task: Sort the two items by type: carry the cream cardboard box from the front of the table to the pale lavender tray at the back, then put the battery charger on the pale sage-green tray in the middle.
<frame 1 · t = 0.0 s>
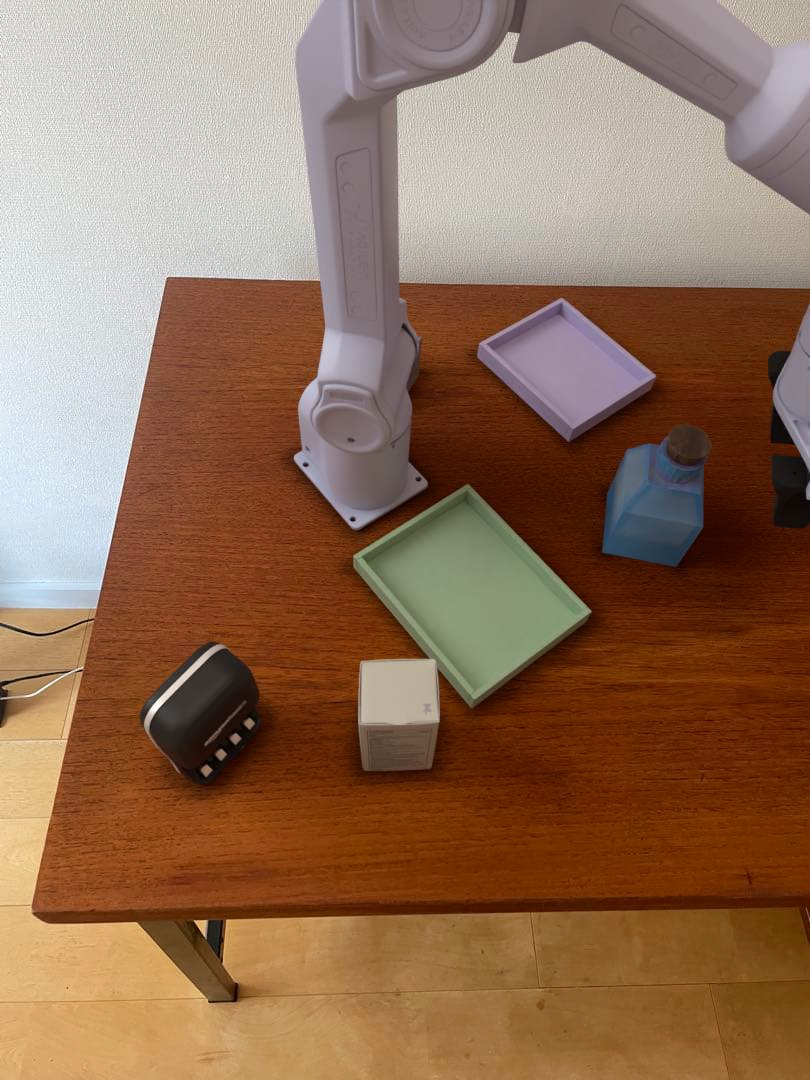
hand: (786, 480, 58), 11 cm above the table, tool pointing down, fingers open, 7 cm apart
cream cardboard box: (395, 741, 58), on the table
perfume bottle: (640, 530, 69), on the table
lavender tray: (563, 373, 77), on the table
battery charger: (224, 747, 57), on the table
dice cube: (383, 385, 76), on the table
sage tray: (468, 594, 64), on the table
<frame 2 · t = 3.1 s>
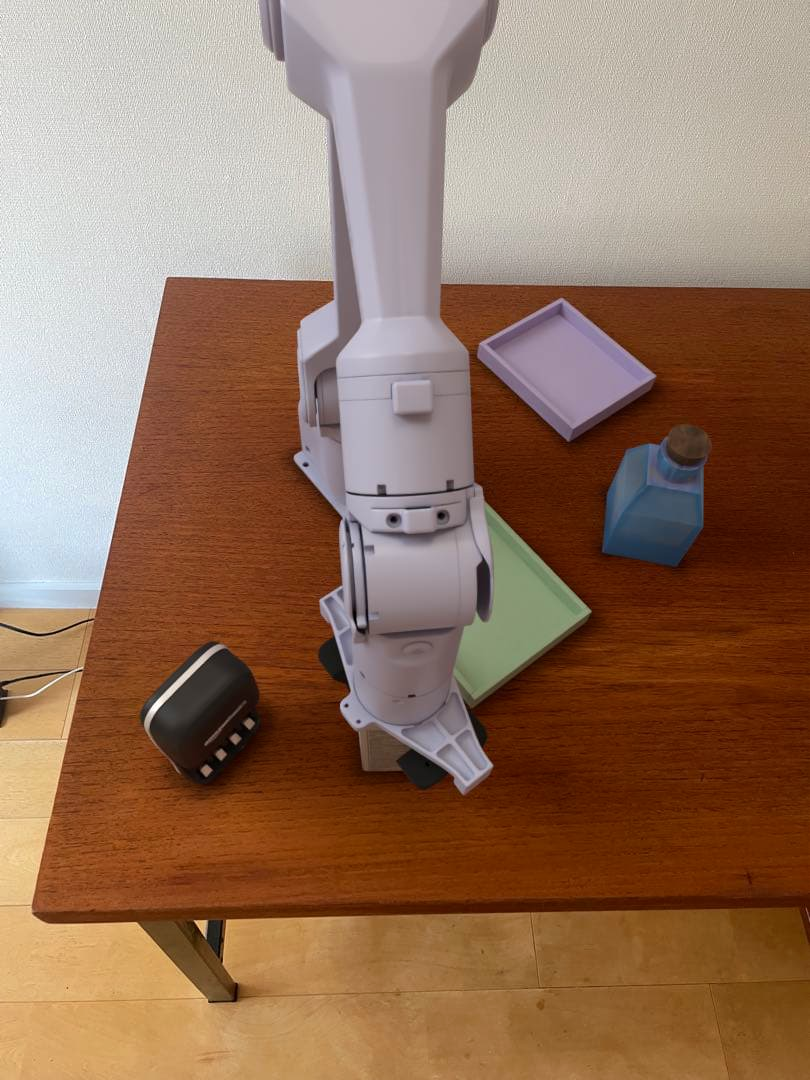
hand: (396, 728, 55), 3 cm above the table, tool pointing down, fingers closed on cream cardboard box, 6 cm apart
cream cardboard box: (395, 741, 58), on the table, touching gripper
everything else where it was.
when the fingers open (3 cm above the table, at t = 9.6 s): cream cardboard box stays where it is, resting on lavender tray.
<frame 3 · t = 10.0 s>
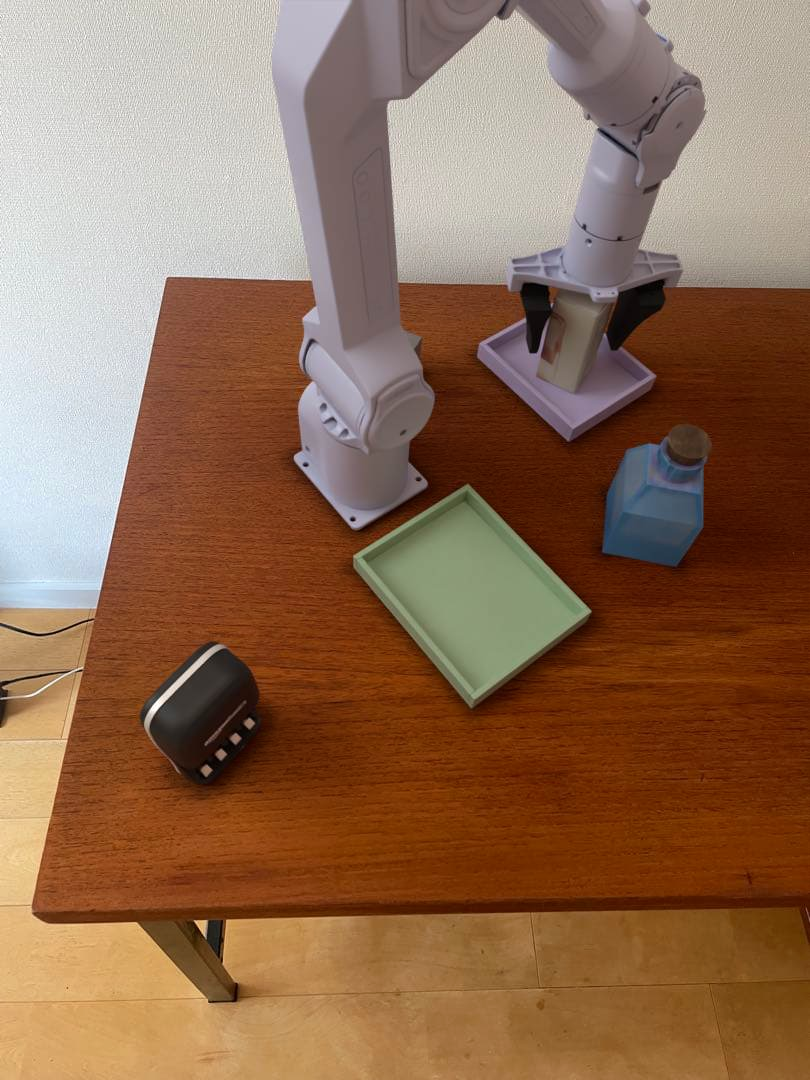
hand: (571, 344, 74), 4 cm above the table, tool pointing down, fingers open, 7 cm apart
cream cardboard box: (563, 371, 77), resting on lavender tray
everything else where it was.
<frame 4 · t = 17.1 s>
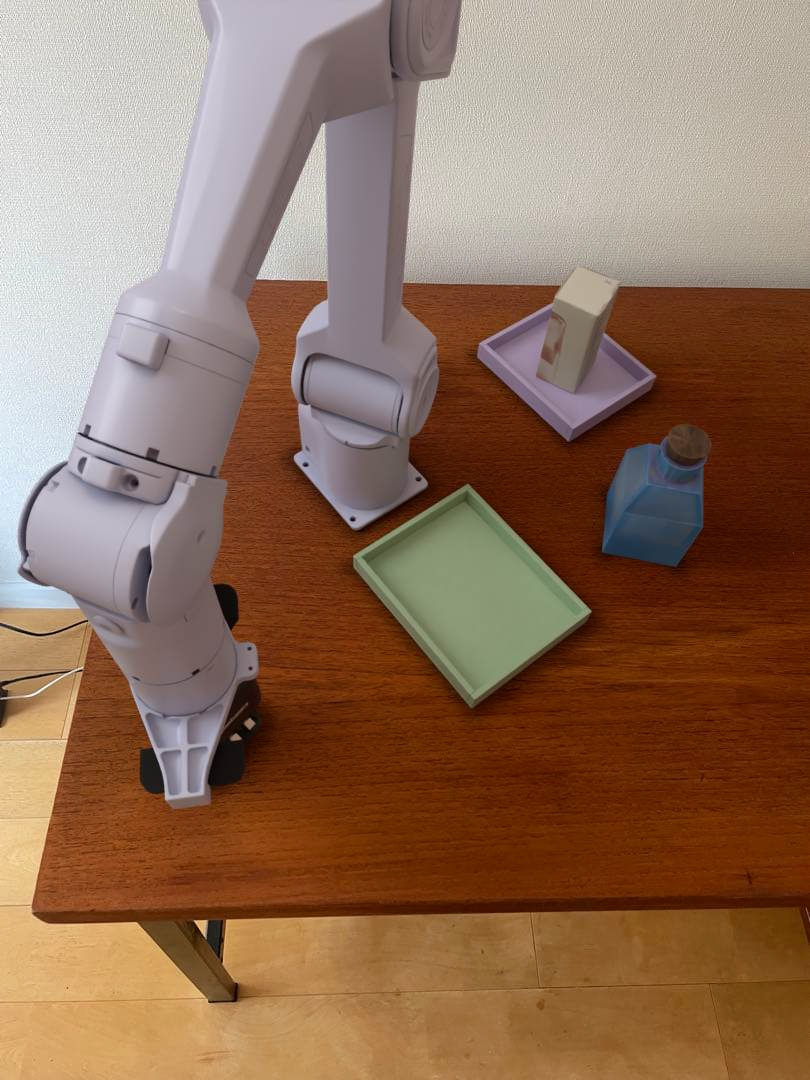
hand: (211, 720, 52), 6 cm above the table, tool pointing down, fingers open, 7 cm apart
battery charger: (224, 747, 57), on the table, touching gripper
everything else where it was.
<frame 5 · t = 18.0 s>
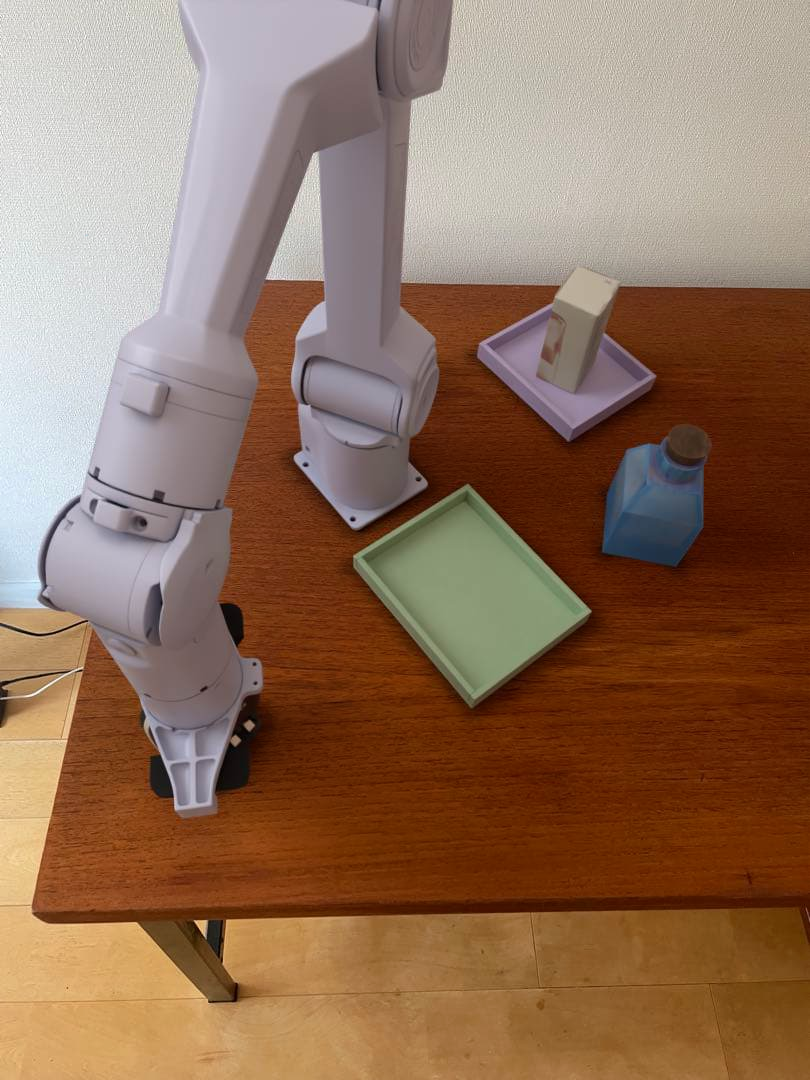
hand: (217, 731, 54), 3 cm above the table, tool pointing down, fingers closed on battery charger, 6 cm apart
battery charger: (224, 749, 57), on the table, touching gripper
everything else where it was.
when the fingers open (4 cm above the table, at t = 23.1 s): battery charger stays where it is, resting on sage tray.
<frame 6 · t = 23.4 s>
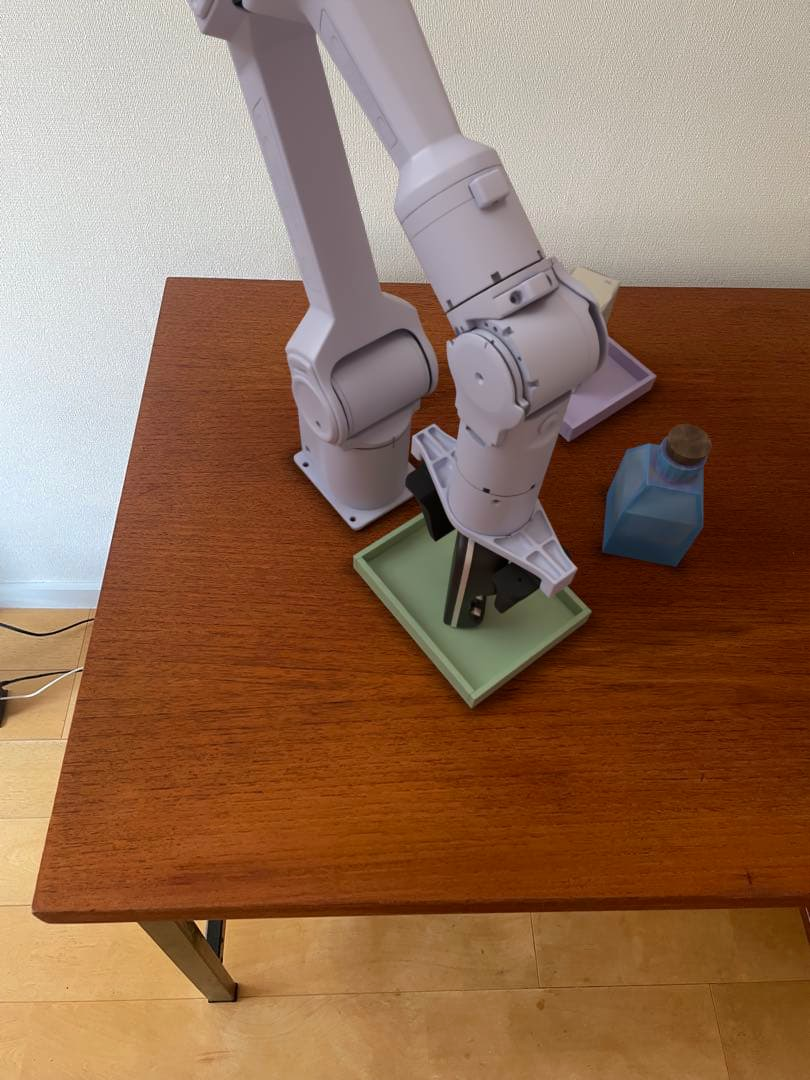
hand: (474, 567, 61), 4 cm above the table, tool pointing down, fingers open, 7 cm apart
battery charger: (470, 594, 64), resting on sage tray
everything else where it was.
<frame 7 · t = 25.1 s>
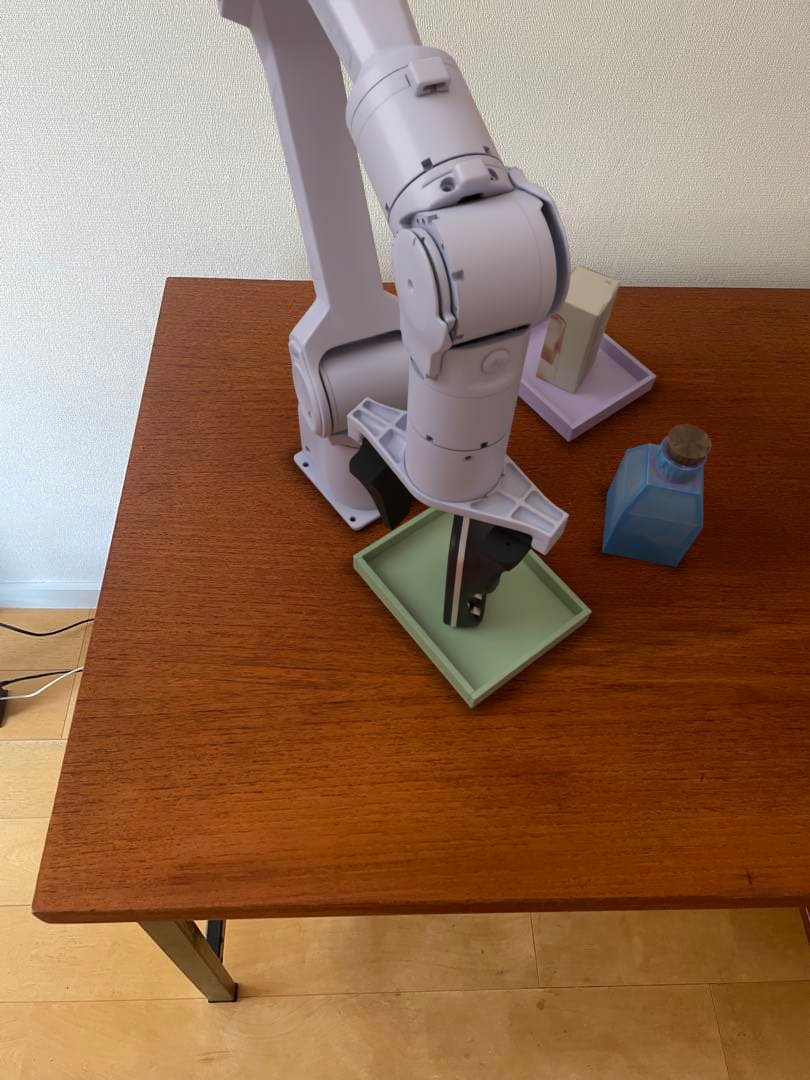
hand: (443, 548, 54), 10 cm above the table, tool pointing down, fingers open, 7 cm apart
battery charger: (470, 594, 64), resting on sage tray, touching gripper
everything else where it was.
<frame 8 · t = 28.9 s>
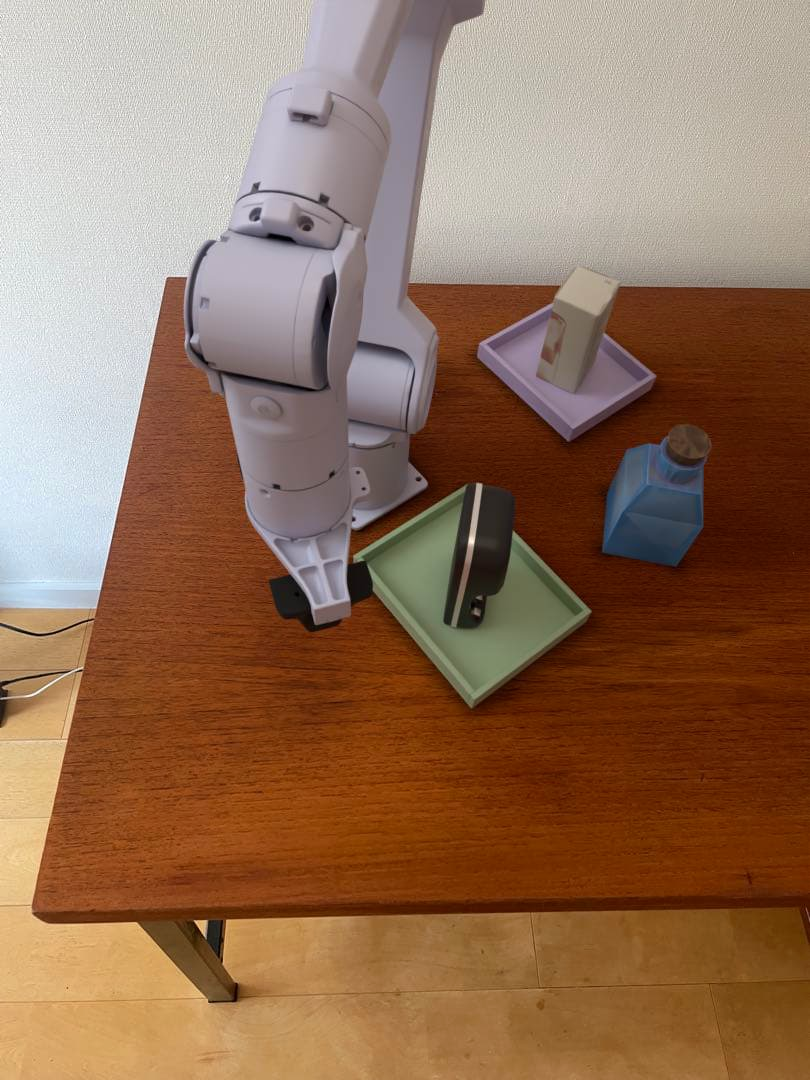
hand: (308, 573, 53), 10 cm above the table, tool pointing down, fingers open, 7 cm apart
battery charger: (470, 595, 64), resting on sage tray
everything else where it was.
at the end: cream cardboard box inside the target area in the lavender tray (0.0 cm from its centre), point 0.2 cm above the lavender tray's base; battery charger inside the target area in the sage tray (0.2 cm from its centre), point 0.2 cm above the sage tray's base; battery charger tilted 0° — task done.
